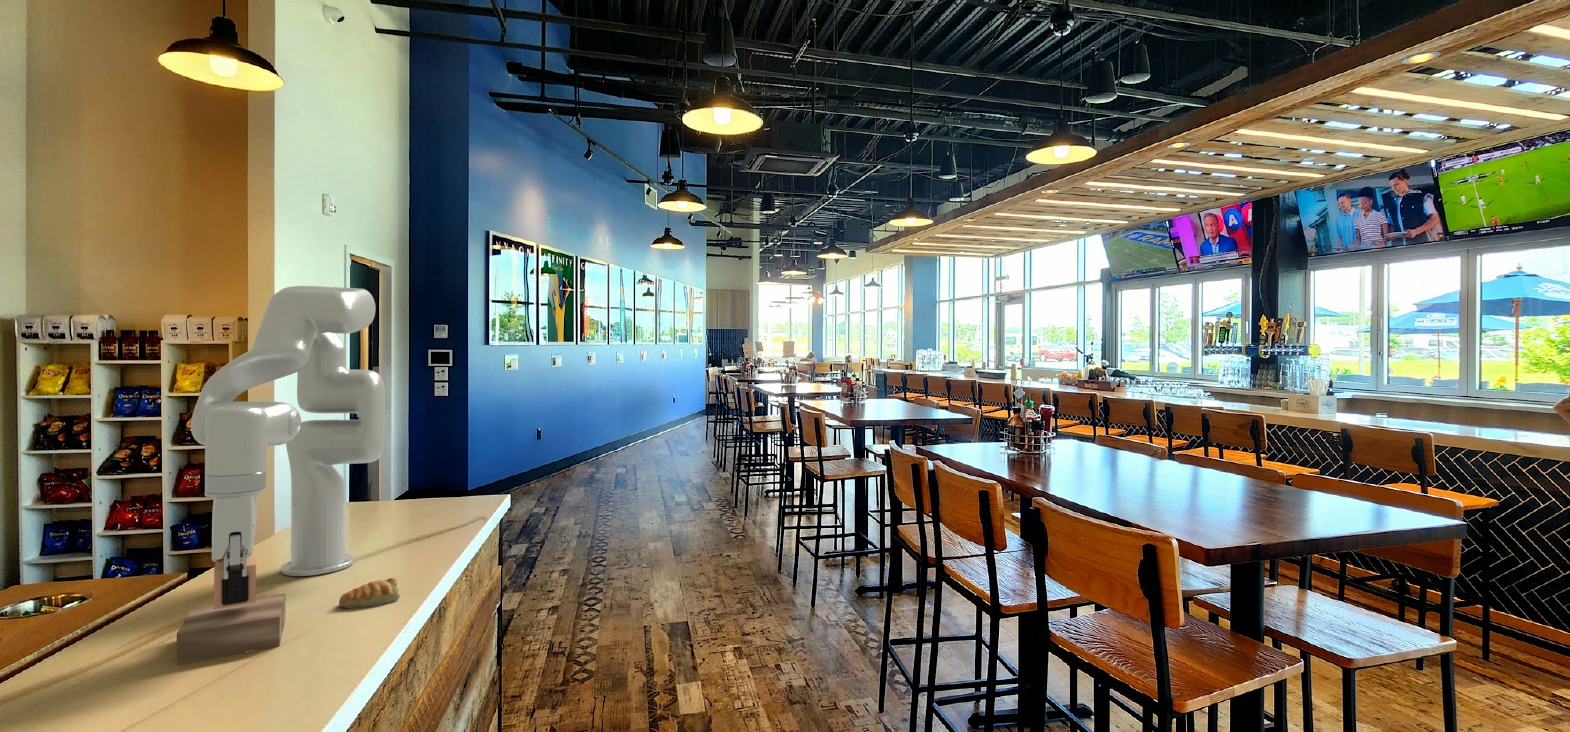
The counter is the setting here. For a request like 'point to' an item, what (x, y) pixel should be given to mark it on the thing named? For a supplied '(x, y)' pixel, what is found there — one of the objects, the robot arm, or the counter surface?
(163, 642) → the counter surface
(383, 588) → the pastry
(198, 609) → the taupe streaked block
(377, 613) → the counter surface
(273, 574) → the counter surface
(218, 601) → the terracotta block
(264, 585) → the counter surface
